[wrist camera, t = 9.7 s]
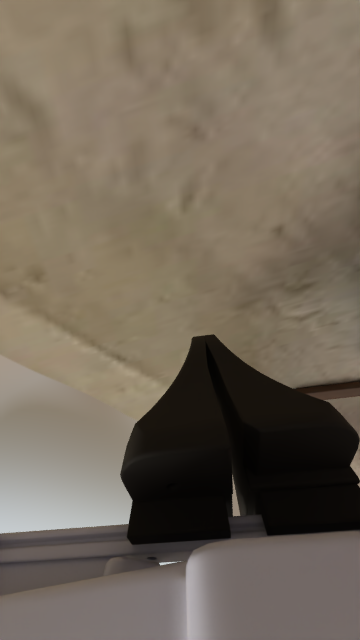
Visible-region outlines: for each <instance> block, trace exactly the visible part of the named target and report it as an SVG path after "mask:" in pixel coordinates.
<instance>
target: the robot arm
mask: <svg viewBox="0 0 360 640" xmlns="http://www.w3.org/2000/svg"><path fill="white" fill-rule="evenodd" d="M358 445H359V436H358V433H357V432H356V431H355V430H354V429H353V427H352V426H351V425H350V424H349V423H348V422H347V420H346V419H345V418H344V417H343V416H342V415H341V414H340V413H339V412H338V411H337V410H336V409H335V408H334V407H333V406H332V405H331V404H330V403H329V402H326V401H323V400H321V399H318V398H315V397H313V396H310V395H307V394H304V393H302V392H299V391H297V390H295V389H292V388H290V387H288V386H285V385H283V384H281V383H279V382H277V381H275V380H273V379H271V378H269V377H267V376H266V375H264V374H262V373H260V372H258V371H257V370H255V369H254V368H252V367H251V366H249V365H247V364H246V363H245V362H243V361H242V360H241V359H239V358H238V357H237V356H236V355H235V354H233V353H232V352H231V351H230V350H229V349H228V348H227V347H226V346H225V345H224V344H223V343H222V342H221V341H220V340H219V339H218V338H217V337H216V336H215V335H214V334H213V335H205V336H197V337H193V338H192V342H191V346H190V350H189V352H188V355H187V358H186V360H185V362H184V364H183V366H182V368H181V370H180V372H179V374H178V375H177V377H176V379H175V380H174V382H173V383H172V385H171V386H170V387H169V389H168V390H167V391H166V393H165V394H164V395H163V396H162V397H161V399H160V400H159V401H158V402H157V403H156V404H155V405H154V406H153V408H152V409H151V410H150V411H148V412H147V413H146V414H145V415H144V416H143V417H142V418H141V419H140V420H139V421H138V422H137V423H136V424H135V426H134V428H133V431H132V433H131V436H130V439H129V441H128V444H127V448H126V452H125V456H124V460H123V465H122V470H121V474H120V475H121V479H122V482H123V483H124V485H125V487H126V489H127V491H128V493H129V494H130V496H131V498H132V500H133V502H132V509H131V514H130V520H129V524H124V525H111V526H97V527H84V528H70V529H57V530H43V531H29V532H16V533H2V534H0V640H360V488H359V486H358V485H357V484H359V482H360V480H359V478H358V476H357V475H356V474H355V472H354V471H353V470H352V468H351V467H350V464H351V462H352V460H353V458H354V456H355V454H356V451H357V449H358ZM232 474H233V479H234V484H235V490H236V495H237V500H238V505H239V510H240V516H234V517H233V509H232V494H233V485H232V484H233V483H232ZM177 561H182V562H177ZM161 562H177V563H172V564H166V565H161V566H160V564H159V563H161Z"/></svg>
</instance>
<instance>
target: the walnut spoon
mask: <svg viewBox="0 0 360 640" xmlns="http://www.w3.org/2000/svg"><path fill="white" fill-rule="evenodd" d="M295 390H297V391H299V392H302V393H304V394H307V395H310V396H313V397H315V398H318V399H321V400H328V399H337V398H347V397H356V396H360V381H359V382H351V383H342V384H333V385H325V386H316V387H307V388H299V389H295Z"/></svg>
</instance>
